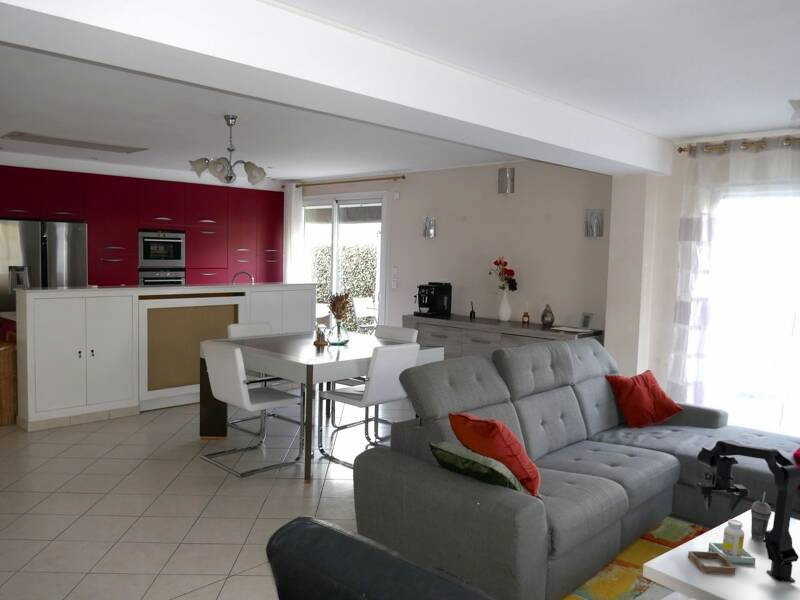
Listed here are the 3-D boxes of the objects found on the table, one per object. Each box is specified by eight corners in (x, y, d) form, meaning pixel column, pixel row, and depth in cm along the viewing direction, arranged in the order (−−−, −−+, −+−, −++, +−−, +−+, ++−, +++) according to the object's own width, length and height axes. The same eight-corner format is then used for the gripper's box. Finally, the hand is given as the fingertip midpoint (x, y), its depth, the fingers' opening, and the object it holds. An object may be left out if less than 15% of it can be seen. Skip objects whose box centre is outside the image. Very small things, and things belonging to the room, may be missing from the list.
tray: (754, 564, 234) (755, 558, 234) (724, 563, 234) (725, 556, 233) (737, 549, 245) (738, 543, 245) (708, 548, 245) (709, 542, 245)
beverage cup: (763, 535, 259) (768, 488, 258) (771, 543, 252) (777, 495, 250) (744, 533, 260) (749, 486, 258) (752, 541, 253) (758, 493, 251)
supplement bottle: (739, 552, 242) (743, 520, 240) (743, 560, 235) (747, 527, 234) (720, 549, 243) (723, 516, 242) (723, 557, 237) (727, 524, 236)
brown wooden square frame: (735, 574, 226) (735, 568, 225) (703, 573, 225) (704, 566, 225) (718, 558, 237) (718, 552, 237) (687, 557, 237) (688, 551, 236)
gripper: (735, 465, 256) (731, 503, 258) (689, 463, 255) (686, 501, 257) (751, 476, 245) (747, 515, 247) (704, 473, 244) (699, 513, 246)
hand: (719, 510), depth 249 cm, fingers open, 9 cm apart
